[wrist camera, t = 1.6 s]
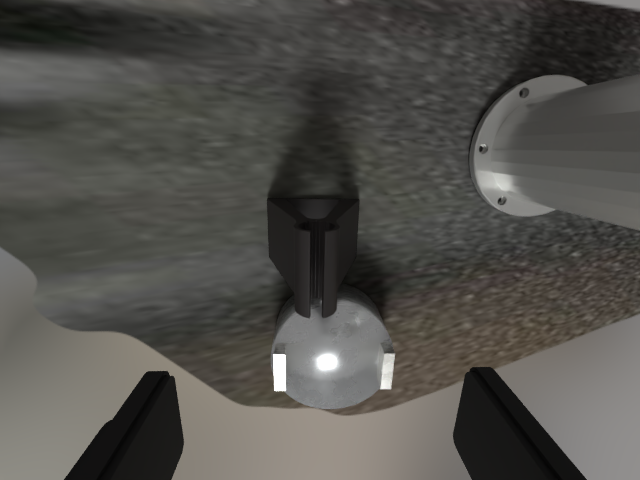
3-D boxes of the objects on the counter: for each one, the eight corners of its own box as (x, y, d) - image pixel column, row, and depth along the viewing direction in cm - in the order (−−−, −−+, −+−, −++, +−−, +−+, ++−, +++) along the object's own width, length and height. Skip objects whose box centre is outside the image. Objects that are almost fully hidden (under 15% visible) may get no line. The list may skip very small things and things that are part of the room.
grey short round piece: (386, 282, 33) (405, 314, 26) (377, 373, 36) (392, 421, 30) (274, 282, 32) (266, 315, 26) (276, 374, 36) (270, 423, 29)
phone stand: (359, 199, 30) (391, 232, 18) (355, 256, 32) (383, 318, 20) (267, 197, 29) (242, 230, 18) (269, 255, 31) (247, 318, 20)
